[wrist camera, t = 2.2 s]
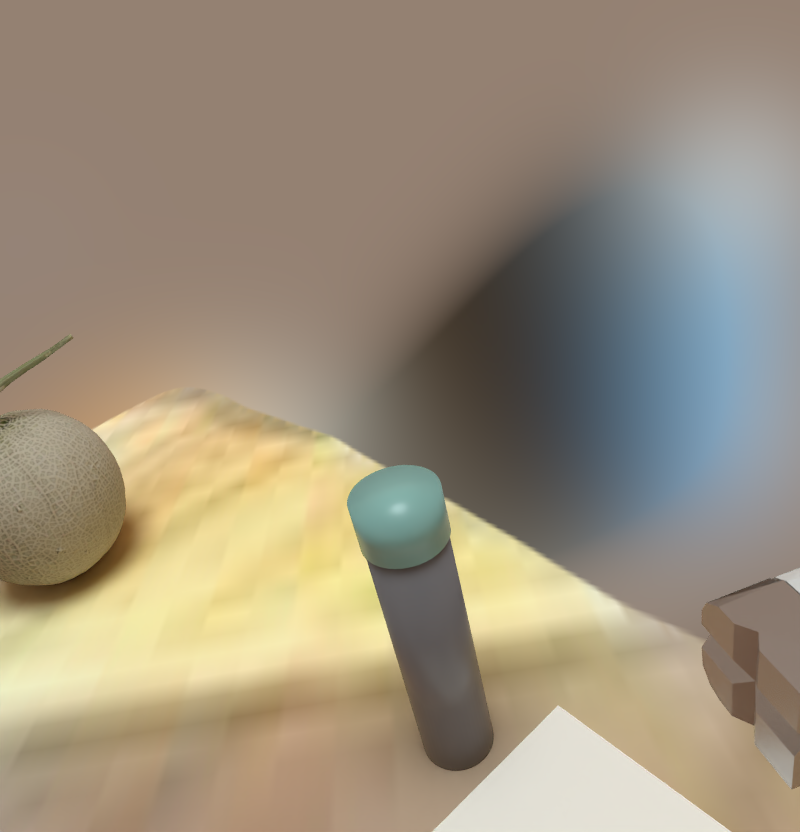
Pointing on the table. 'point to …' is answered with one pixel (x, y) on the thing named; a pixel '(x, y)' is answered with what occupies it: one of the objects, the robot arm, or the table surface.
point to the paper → (573, 789)
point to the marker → (424, 609)
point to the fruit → (54, 493)
